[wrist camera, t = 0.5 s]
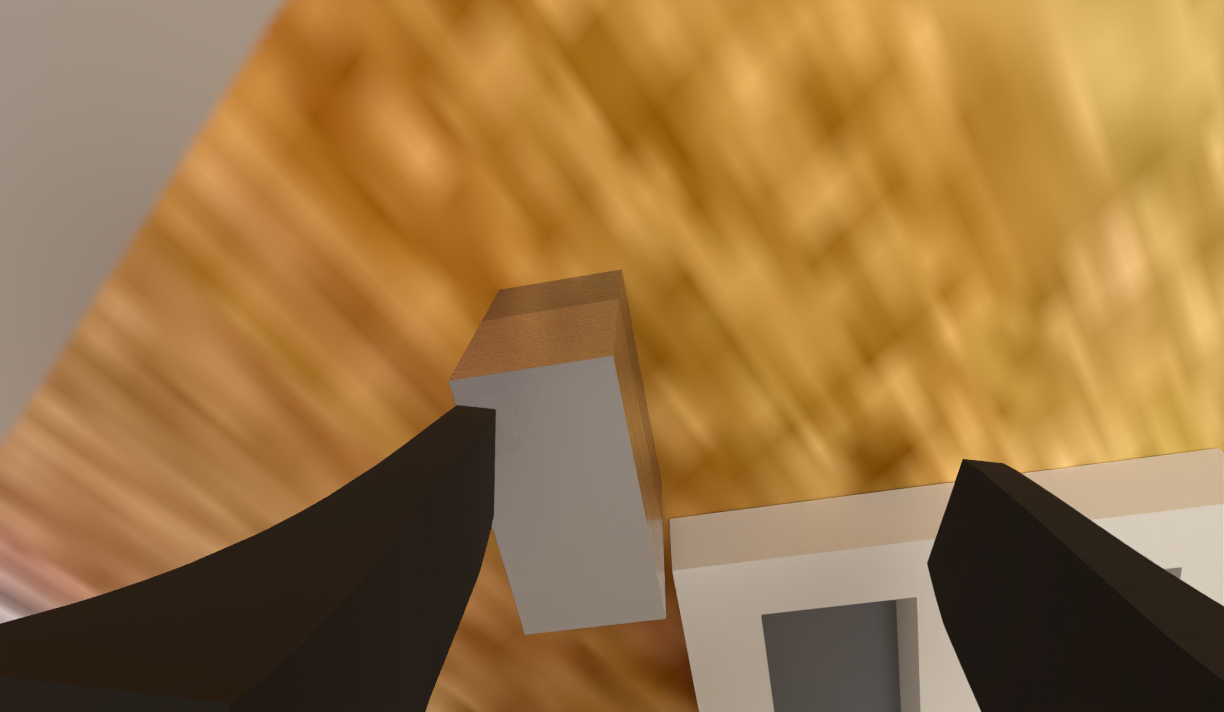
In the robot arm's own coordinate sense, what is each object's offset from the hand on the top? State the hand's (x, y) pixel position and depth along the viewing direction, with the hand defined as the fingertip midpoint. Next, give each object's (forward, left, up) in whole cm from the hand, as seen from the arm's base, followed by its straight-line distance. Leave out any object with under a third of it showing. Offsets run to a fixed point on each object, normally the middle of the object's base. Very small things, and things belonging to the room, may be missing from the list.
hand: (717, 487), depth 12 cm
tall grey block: (-3, -3, -10) cm, 11 cm away
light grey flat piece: (+7, -14, -10) cm, 18 cm away
